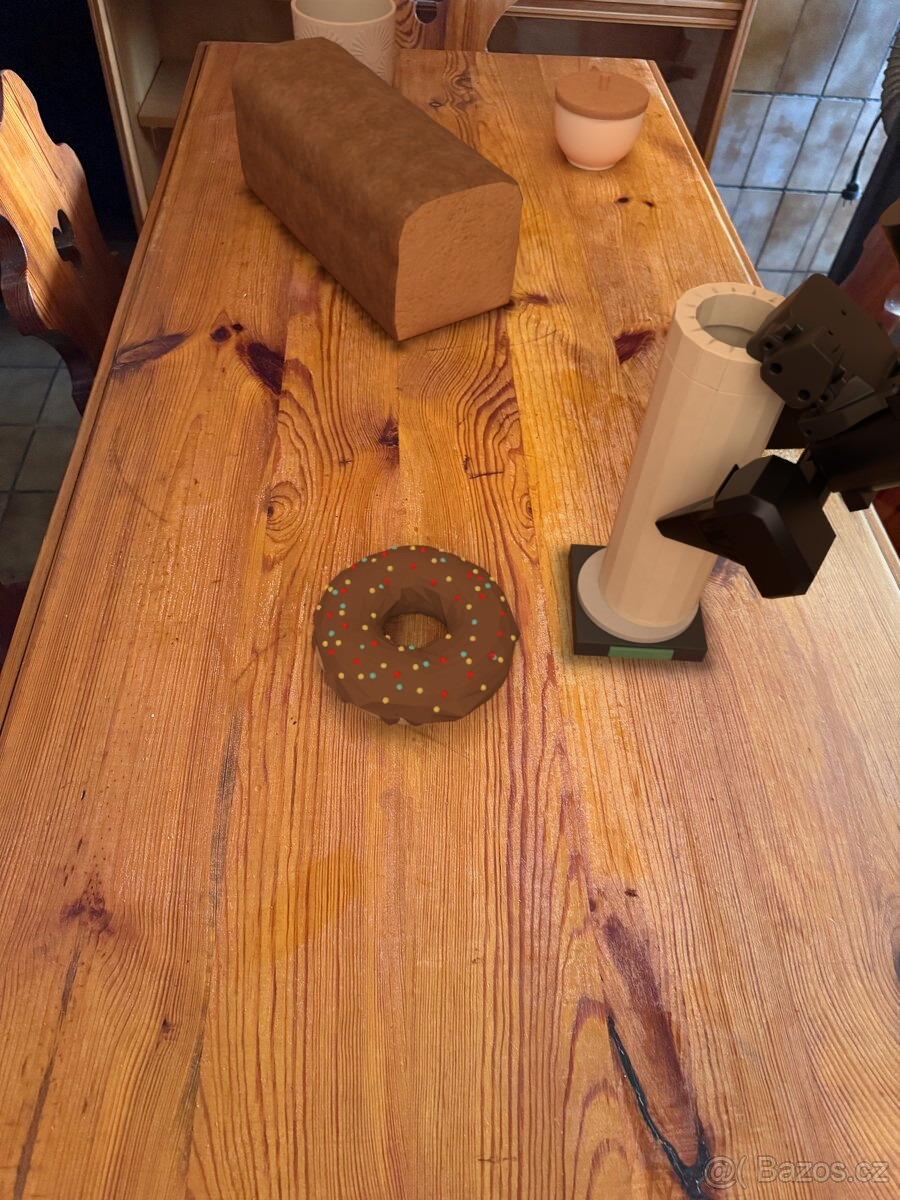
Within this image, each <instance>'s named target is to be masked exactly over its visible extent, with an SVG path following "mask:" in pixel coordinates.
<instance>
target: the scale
mask: <svg viewBox="0 0 900 1200" xmlns="http://www.w3.org/2000/svg"><path fill="white" fill-rule="evenodd" d="M606 549H607V545H599V544H598V545H596V544H580V543H571V544H570V546H569V551H568V556H567V564H568V566H567V567H568V568H567V569H568V583H569V585H568V586H569V597H570V598H569V599H570V600H569V601H570V613H571V614H570V616H571V632H572V633H571V634H572V635H571V636H572V649H573V650H572V651H573V655H574V656H589V657H603V658H604V657H605V658H620V659H621V658H623V659H624V658H626V659H641V660H658V661H671V662H672V661H675V662H676V661H677V662H690V663H691V662H693V663H703V661H704V659H705V657H706V654H707V652H708V650H709V648H708V641H707V635H706V629H705V624H704V619H703V612H702V607H701V601H700V600H699V601H698V602H697V604H696V606H695V608H694V610H693V612H692V613H691V614H690V615H689V616H688V617H687V618H686V619H684V620H683V621H681V622H679V623H677V624H675V625H671V626H667V627H646V626H641V625H637V624H635V623H632V622H630V621H627V620H625V619H624V618H622V617H620V616H619V615H618V614H616V613H615V612H614V611H613V610H612V609H611V608H610V607H609V606H608V605H607V603H606V602H605V600H604V599H603V597H602V595H601V592H600V588H599V576H600V572H601V567H602V563H603V559H604V556H605V552H606Z"/></svg>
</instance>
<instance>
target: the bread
mask: <svg viewBox="0 0 900 1200" xmlns="http://www.w3.org/2000/svg"><path fill="white" fill-rule="evenodd" d="M230 89H231V95H232V100H233V105H234V115H235V127H236V128H235V129H236V136H237V137H236V138H237V144H238V153H239V158H240V166H241V170H242V171H241V172H242V176H243V179H244V182H245V184H246V186H247V187H248V188H249V189H250V190H251V192H253V193H254V195H255V196H256V197H257V198H258V199H259V200H260V201H261V202H262V203H263V204H264V205H265V207H266V208H268V210H269V211H271V212H272V213H273V215H275V217H276V218H277V219H278V220H279V221H280V222H281V223H282V224H283V225H284V226H285V227H286V228H287V230H289V232H290V233H291V234H292V235H293V236H294V237H295V238H296V240H297V241H299V242H300V244H301V245H302V246H303V247H304V248H305V249H306V250H307V251H308V252H309V253H310V254H312V256H313V257H314V258H315V259H316V260H317V261H318V262H319V263H320V264H321V266H322V268H324V269H325V270H326V271H327V272H328V273H329V275H330V276H332V278H334V280H335V281H336V282H337V283H338V284H339V285H340V286H341V287H342V288H343V289H344V290H345V291H346V292H347V293H348V294H349V295H350V296H351V297H352V298H353V299H354V300H355V301H356V302H357V303H358V304H359V305H360V306H361V308H363V309H364V311H365V312H366V313H367V314H368V315H369V316H370V318H372V319H373V321H375V323H376V324H378V326H379V327H381V329H382V330H383V331H384V332H385V333H386V334H388V335H389V336H390V337H391V338H392V339H393V340H394V341H395V342H401V341H403V340H408V339H411V338H414V337H417V336H420V335H423V334H425V333H428V332H432V331H434V330H437V329H440V328H442V327H446V326H449V325H452V324H454V323H457V322H461V321H464V320H467V319H469V318H473V317H475V316H478V315H482V314H484V313H487V312H490V311H492V310H495V309H498V308H500V307H504V306H506V305H508V304H509V303H510V298H511V294H512V292H513V288H514V281H515V273H516V267H517V266H516V265H517V257H518V250H519V243H520V241H519V240H520V230H521V219H522V211H523V204H524V196H523V194H522V191H521V187H520V184H519V181H517V180H516V179H515V178H514V177H513V176H511V175H510V174H508V173H507V172H505V171H504V170H503V169H501V168H500V167H498V166H497V165H495V164H494V163H493V162H492V161H490V160H489V159H487V158H486V157H485V156H484V155H483V154H481V153H480V152H479V151H478V150H476V149H474V148H473V147H472V146H470V145H469V144H468V143H466V142H464V140H462V139H460V138H459V137H458V136H457V135H456V134H455V133H453V132H452V131H451V130H450V129H448V128H446V127H445V126H444V125H442V124H441V123H439V122H437V121H436V120H434V118H432V117H431V116H430V115H429V114H428V113H427V112H426V111H424V110H423V109H422V108H421V107H420V106H418V105H417V104H415V103H414V102H412V101H411V100H410V99H409V98H407V97H405V96H404V95H403V94H401V92H399V91H398V90H396V89H395V88H394V87H393V86H392V87H391V86H390V85H389V84H388V83H386V82H385V81H384V80H383V79H382V78H381V77H379V76H378V75H377V74H376V73H375V72H373V71H372V70H371V69H370V68H368V67H367V66H366V65H364V64H363V63H362V62H360V61H359V60H358V59H357V58H355V57H354V56H353V55H352V54H350V53H349V52H348V51H347V50H346V49H344V48H343V47H342V46H340V45H339V44H337V43H335V42H333V41H331V40H329V39H326V38H324V37H313V38H305V39H298V40H295V39H291V40H285V41H281V42H277V43H272V44H268V45H263V46H260V47H256V48H254V49H250V50H247V51H244V52H243V54H242V55H241V56H240V57H239V58H238V60H237V62H236V63H235V64H234V66H232V77H231V87H230Z"/></svg>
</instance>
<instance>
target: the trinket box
mask: <svg viewBox="0 0 900 1200" xmlns="http://www.w3.org/2000/svg"><path fill="white" fill-rule="evenodd" d="M650 98H651V96H650V93H649V91H648V88H646V86H645V85H644V84H643V83H642V82H639V81H637V80H636V79H635V78H632V77H629V76H627V75H623V74H620V73H617V72H611V71H605V70H584V71H583V70H582V71H577V72H571V73H569V74H566V75H564V76H563V77H562V78H560V79H559V80H558V82H557V83H556V85H555V90H554V106H553V129H554V130H553V131H554V135H555V139H556V142H557V144H558V147H559V148H560V150H561V151H562V153H563V154H564V155H565V158H566V160H567V161H568V163H569V164H571V165H572V166H574V167H576V168H579V169H582V170H587V171H592V172H593V171H594V172H595V171H596V172H597V171H599V172H600V171H606V170H609V169H611V168H613V167H614V166H615V165H616V164H617V163H618V162H619V161H621V160H622V159H623V158H625V157H626V156H627V154H628V153H630V151H632V148H633V147H634V145H635V144H636V142H637V140H638V137H639V136H640V133H641V131H642V127H643V124H644V120H645V116H646V111H647V109H648V107H649V101H650Z"/></svg>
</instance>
